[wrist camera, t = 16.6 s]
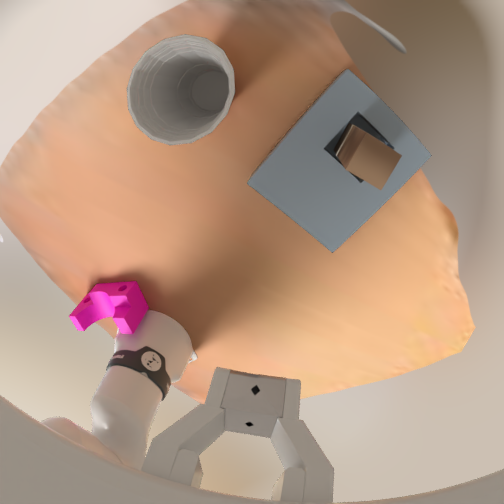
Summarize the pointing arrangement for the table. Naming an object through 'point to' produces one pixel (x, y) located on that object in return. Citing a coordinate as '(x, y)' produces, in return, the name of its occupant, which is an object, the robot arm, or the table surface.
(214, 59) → the plastic cup
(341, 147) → the walnut peg
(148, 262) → the table surface
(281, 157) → the socket board
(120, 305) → the toy block
